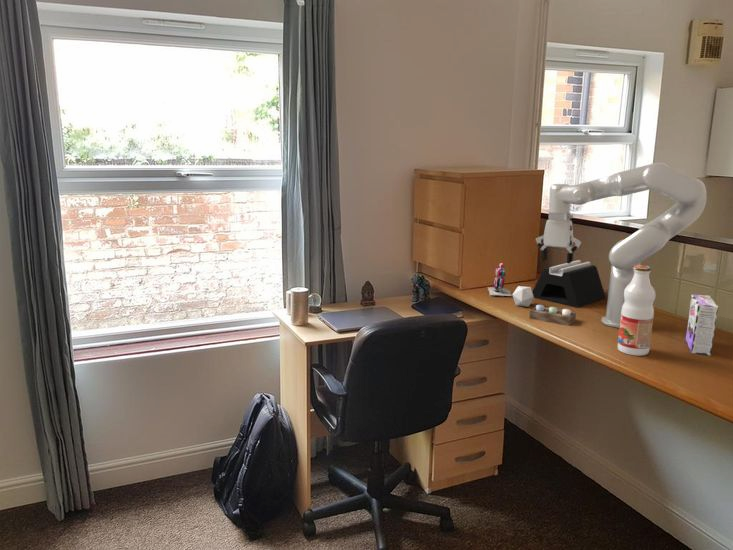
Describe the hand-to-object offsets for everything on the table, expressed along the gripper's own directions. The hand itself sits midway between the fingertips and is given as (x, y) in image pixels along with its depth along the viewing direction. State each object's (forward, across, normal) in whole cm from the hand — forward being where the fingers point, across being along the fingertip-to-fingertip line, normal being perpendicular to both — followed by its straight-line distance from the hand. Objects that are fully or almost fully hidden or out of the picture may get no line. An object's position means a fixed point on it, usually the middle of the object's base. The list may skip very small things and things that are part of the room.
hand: (556, 261), depth 222 cm
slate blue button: (+21, +3, +8) cm, 22 cm away
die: (+21, +15, -4) cm, 26 cm away
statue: (+20, +31, -14) cm, 40 cm away
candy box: (+23, -51, +6) cm, 56 cm away
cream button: (+21, -7, +7) cm, 23 cm away
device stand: (+21, +5, -27) cm, 35 cm away
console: (+21, -2, +7) cm, 22 cm away
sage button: (+21, -2, +7) cm, 22 cm away
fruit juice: (+22, -36, +23) cm, 48 cm away
